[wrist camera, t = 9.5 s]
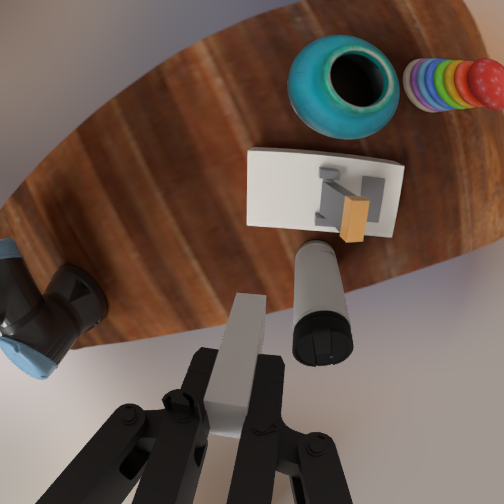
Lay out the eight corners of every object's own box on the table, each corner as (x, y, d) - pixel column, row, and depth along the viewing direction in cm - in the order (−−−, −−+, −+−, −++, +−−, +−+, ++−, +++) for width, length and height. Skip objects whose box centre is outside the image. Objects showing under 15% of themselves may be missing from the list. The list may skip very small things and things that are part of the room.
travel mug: (333, 234, 42) (355, 325, 24) (336, 272, 45) (354, 371, 27) (292, 240, 43) (286, 333, 26) (298, 277, 46) (295, 377, 28)
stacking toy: (391, 65, 29) (460, 39, 13) (436, 55, 27) (516, 36, 10) (412, 117, 32) (490, 130, 16) (455, 106, 30) (540, 117, 13)
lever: (315, 212, 36) (346, 242, 28) (318, 178, 34) (352, 200, 26) (330, 211, 36) (362, 241, 28) (333, 178, 34) (369, 200, 26)
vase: (276, 112, 35) (260, 110, 18) (306, 45, 30) (316, -10, 13) (348, 145, 36) (393, 176, 19) (379, 80, 31) (445, 61, 14)
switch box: (251, 215, 42) (244, 231, 37) (252, 147, 38) (245, 152, 32) (384, 226, 40) (396, 243, 35) (394, 160, 35) (410, 169, 30)
